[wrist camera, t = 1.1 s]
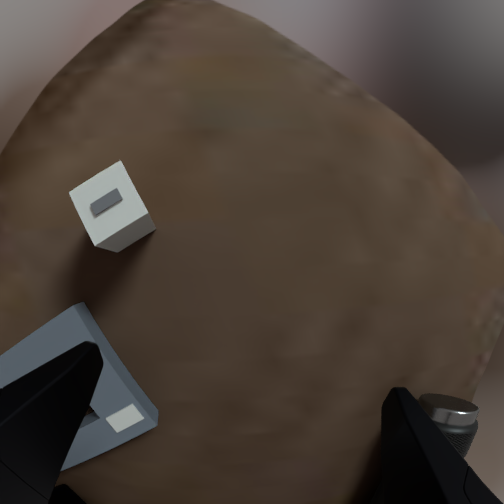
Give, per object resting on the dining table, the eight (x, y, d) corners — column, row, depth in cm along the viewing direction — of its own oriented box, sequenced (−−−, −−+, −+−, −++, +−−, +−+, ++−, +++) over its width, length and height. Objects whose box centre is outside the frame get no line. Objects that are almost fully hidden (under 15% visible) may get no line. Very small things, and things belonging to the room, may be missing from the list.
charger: (117, 252, 25) (93, 245, 17) (97, 213, 25) (67, 191, 17) (156, 229, 26) (148, 212, 18) (135, 190, 26) (120, 159, 18)
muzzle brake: (320, 547, 28) (351, 588, 18) (395, 389, 32) (456, 417, 22) (370, 536, 30) (403, 570, 20) (441, 389, 34) (497, 409, 24)
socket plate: (58, 460, 22) (50, 476, 19) (-10, 366, 21) (-25, 374, 18) (158, 411, 25) (157, 426, 22) (83, 301, 24) (72, 305, 21)
